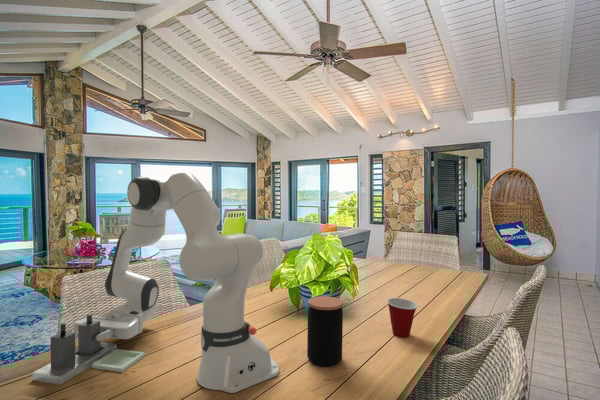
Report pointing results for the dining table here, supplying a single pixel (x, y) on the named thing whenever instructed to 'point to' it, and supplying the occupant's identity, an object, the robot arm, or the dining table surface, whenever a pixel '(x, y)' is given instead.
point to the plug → (88, 337)
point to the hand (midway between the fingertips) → (86, 337)
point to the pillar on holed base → (68, 358)
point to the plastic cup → (401, 316)
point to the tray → (118, 360)
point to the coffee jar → (325, 331)
